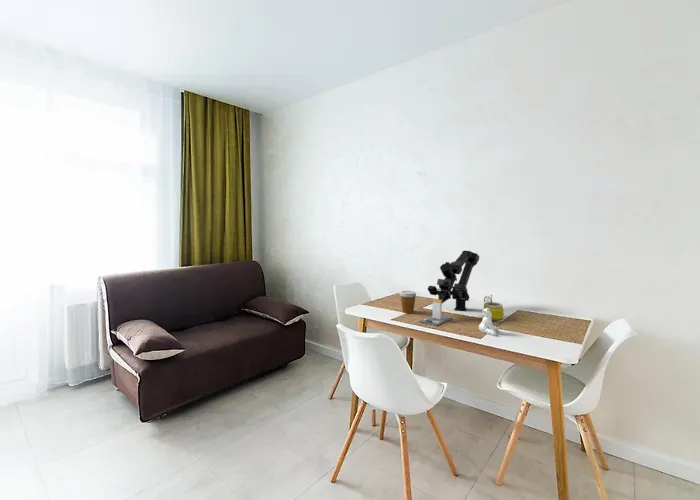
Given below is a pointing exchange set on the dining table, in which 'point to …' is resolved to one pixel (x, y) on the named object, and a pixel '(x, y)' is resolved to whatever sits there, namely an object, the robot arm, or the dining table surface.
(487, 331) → the seated beast figurine
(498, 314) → the yellow round tub
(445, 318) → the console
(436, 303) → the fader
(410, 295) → the disposable coffee cup
